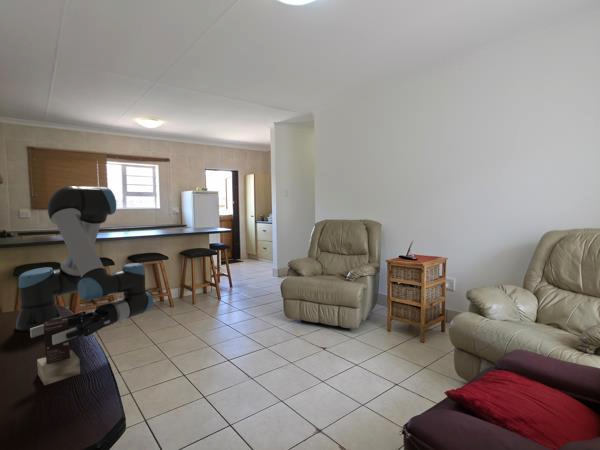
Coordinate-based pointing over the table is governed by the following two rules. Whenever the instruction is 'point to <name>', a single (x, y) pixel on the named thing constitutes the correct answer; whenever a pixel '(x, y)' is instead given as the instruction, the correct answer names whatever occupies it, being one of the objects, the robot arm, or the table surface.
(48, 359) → the box
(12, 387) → the table surface
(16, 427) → the table surface
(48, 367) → the ash block
